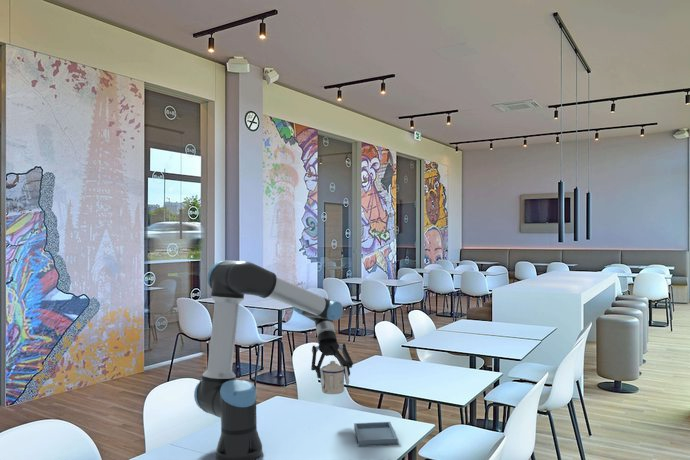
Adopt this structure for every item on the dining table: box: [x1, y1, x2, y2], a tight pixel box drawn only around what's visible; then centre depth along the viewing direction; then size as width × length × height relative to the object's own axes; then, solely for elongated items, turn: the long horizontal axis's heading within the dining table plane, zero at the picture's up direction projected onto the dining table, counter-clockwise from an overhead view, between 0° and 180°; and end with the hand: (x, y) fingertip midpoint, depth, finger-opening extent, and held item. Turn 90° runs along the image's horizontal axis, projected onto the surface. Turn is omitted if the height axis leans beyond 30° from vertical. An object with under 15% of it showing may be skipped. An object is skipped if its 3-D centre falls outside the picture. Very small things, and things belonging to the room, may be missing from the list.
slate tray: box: [353, 421, 399, 447], centre depth 186 cm, size 14×17×2 cm
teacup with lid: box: [321, 360, 345, 395], centre depth 199 cm, size 12×9×12 cm
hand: (335, 384), depth 196 cm, fingers closed on teacup with lid, 9 cm apart
